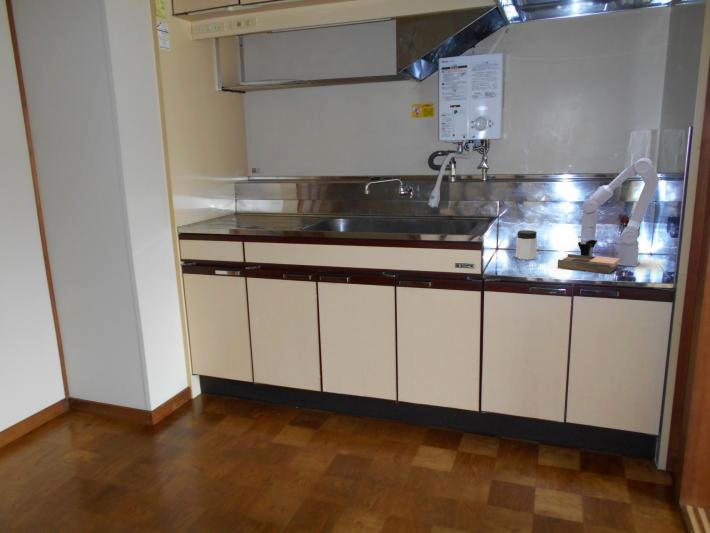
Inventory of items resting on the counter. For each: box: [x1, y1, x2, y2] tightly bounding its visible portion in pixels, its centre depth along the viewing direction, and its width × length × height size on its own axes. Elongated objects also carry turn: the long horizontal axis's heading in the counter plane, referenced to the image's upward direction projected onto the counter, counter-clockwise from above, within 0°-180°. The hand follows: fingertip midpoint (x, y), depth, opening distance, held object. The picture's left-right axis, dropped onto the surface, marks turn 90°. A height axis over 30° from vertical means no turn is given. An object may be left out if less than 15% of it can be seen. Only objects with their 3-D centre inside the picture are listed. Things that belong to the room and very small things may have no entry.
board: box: [557, 253, 619, 275], centre depth 228 cm, size 14×20×4 cm
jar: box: [515, 229, 538, 261], centre depth 248 cm, size 9×8×12 cm
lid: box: [589, 255, 620, 267], centre depth 224 cm, size 11×9×2 cm
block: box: [588, 247, 594, 257], centre depth 240 cm, size 4×4×6 cm
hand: (586, 257), depth 241 cm, fingers open, 5 cm apart
